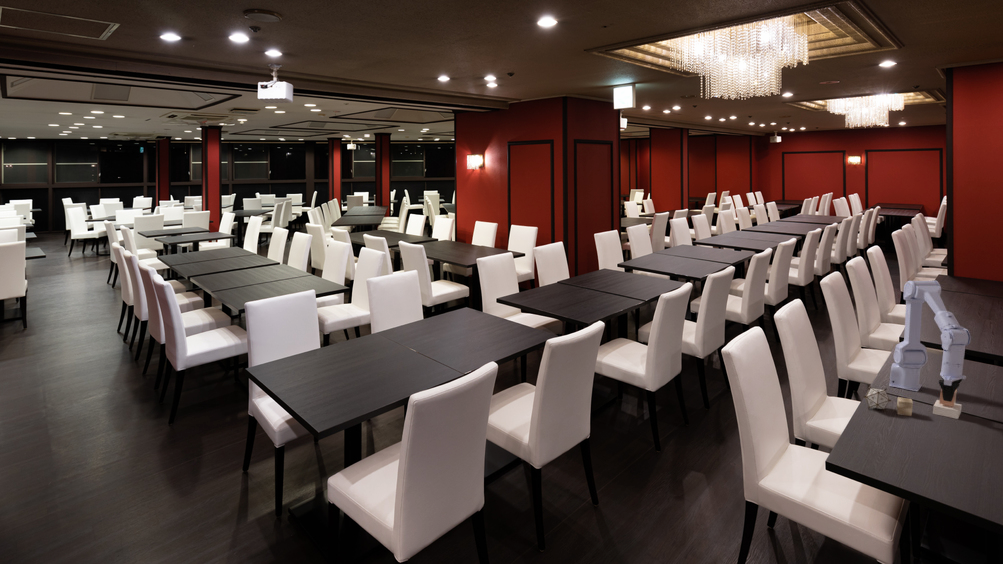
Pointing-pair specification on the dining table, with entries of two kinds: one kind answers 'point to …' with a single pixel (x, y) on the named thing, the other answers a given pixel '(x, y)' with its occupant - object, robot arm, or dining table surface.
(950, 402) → the terracotta block
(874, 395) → the game die
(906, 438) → the dining table surface
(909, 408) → the maple block
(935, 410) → the slab
